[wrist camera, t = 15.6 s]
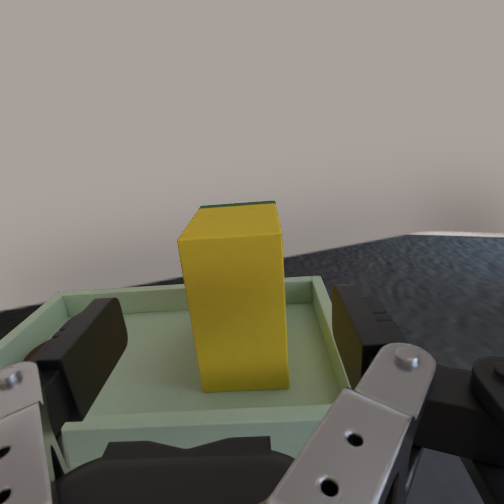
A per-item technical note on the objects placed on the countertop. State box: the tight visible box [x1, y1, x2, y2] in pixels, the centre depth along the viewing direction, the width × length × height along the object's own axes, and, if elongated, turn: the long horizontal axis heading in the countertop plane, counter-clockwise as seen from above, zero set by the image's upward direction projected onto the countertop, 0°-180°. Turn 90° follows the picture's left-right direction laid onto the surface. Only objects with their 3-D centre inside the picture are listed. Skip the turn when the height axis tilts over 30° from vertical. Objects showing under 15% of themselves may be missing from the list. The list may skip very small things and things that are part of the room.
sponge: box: [177, 201, 289, 393], centre depth 19 cm, size 5×7×9 cm
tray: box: [0, 276, 351, 470], centre depth 21 cm, size 22×14×3 cm, turn 89°
